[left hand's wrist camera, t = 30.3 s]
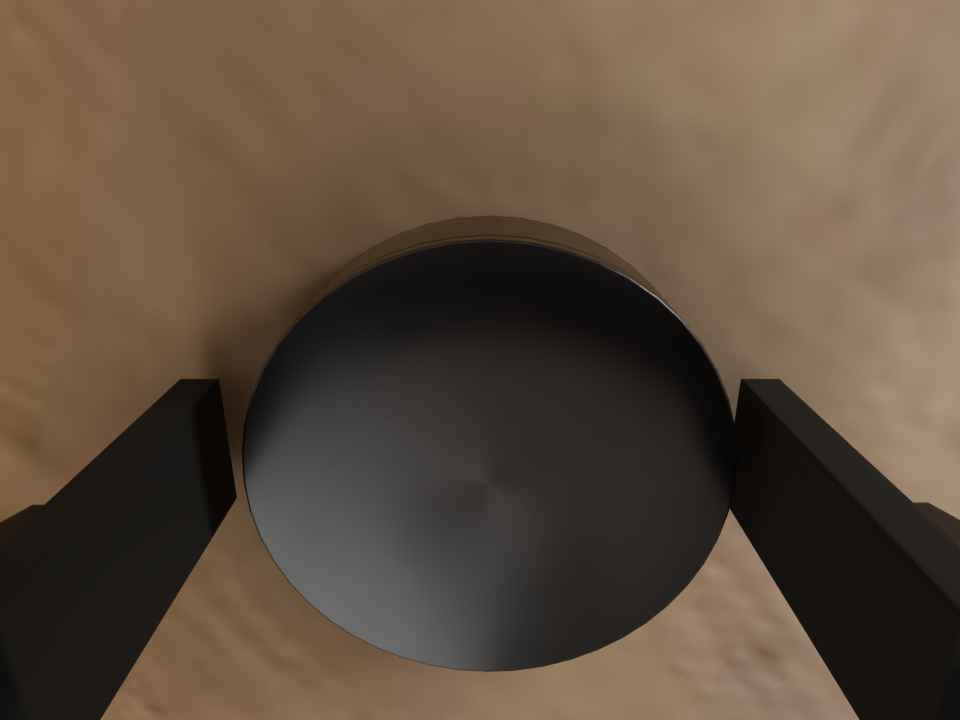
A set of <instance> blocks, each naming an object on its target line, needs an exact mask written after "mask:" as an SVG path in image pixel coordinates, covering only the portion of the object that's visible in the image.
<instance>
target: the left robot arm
mask: <svg viewBox="0 0 960 720" xmlns="http://www.w3.org/2000/svg"><path fill="white" fill-rule="evenodd" d="M734 425H735V431H736V446H737V465H736V477H735V487H734V491H733V495H732V499H731V504H730V510H731V511H732V513H733V514H734V516H735V518H736V519H737V521H738V523H739V524H740V526H741V527H742V529H743V531H744V532H745V534H746V536H747V537H748V539H749V541H750V542H751V544H752V545H753V547H754V549H755V550H756V552H757V554H758V555H759V557H760V558H761V560H762V562H763V563H764V565H765V567H766V568H767V570H768V571H769V573H770V575H771V576H772V578H773V580H774V581H775V583H776V584H777V586H778V588H779V589H780V591H781V593H782V594H783V596H784V597H785V599H786V601H787V602H788V604H789V606H790V607H791V609H792V610H793V612H794V614H795V615H796V617H797V619H798V620H799V622H800V623H801V625H802V627H803V628H804V630H805V632H806V633H807V635H808V636H809V638H810V640H811V641H812V643H813V645H814V646H815V648H816V649H817V651H818V653H819V654H820V656H821V658H822V659H823V661H824V662H825V664H826V666H827V667H828V669H829V671H830V672H831V674H832V675H833V677H834V679H835V680H836V682H837V684H838V685H839V687H840V688H841V690H842V692H843V693H844V695H845V697H846V698H847V700H848V701H849V703H850V705H851V706H852V708H853V710H854V711H855V713H856V715H857V716H858V718H859V719H860V720H960V520H959V519H957V518H955V517H953V516H952V515H950V514H948V513H946V512H944V511H942V510H941V509H939V508H937V507H935V506H933V505H931V504H930V503H913V502H912V501H911V500H910V499H909V498H907V497H906V496H905V495H904V494H903V493H902V492H901V491H900V490H899V489H898V488H897V487H896V486H894V485H893V484H892V483H891V482H890V481H889V480H888V479H887V478H886V477H885V476H884V475H883V474H881V473H880V472H879V471H878V470H877V469H876V468H875V467H874V466H873V465H872V464H871V463H870V462H869V461H867V460H866V459H865V458H864V457H863V456H862V455H861V454H860V453H859V452H858V451H857V450H856V449H854V448H853V447H852V446H851V445H850V444H849V443H848V442H847V441H846V440H845V439H844V438H843V437H841V436H840V435H839V434H838V433H837V432H836V431H835V430H834V429H833V428H832V427H831V426H830V425H829V424H827V423H826V422H825V421H824V420H823V419H822V418H821V417H820V416H819V415H818V414H817V413H816V412H814V411H813V410H812V409H811V408H810V407H809V406H808V405H807V404H806V403H805V402H804V401H803V400H801V399H800V398H799V397H798V396H797V395H796V394H795V393H794V392H793V391H792V390H791V389H790V388H788V387H787V386H786V385H785V384H784V383H783V382H782V381H781V380H780V379H741V383H740V390H739V396H738V403H737V410H736V416H735V423H734ZM236 498H237V496H236V489H235V483H234V476H233V470H232V463H231V456H230V450H229V443H228V436H227V430H226V423H225V417H224V410H223V403H222V397H221V390H220V383H219V379H180V380H179V381H178V382H177V383H176V384H175V385H174V386H173V387H171V388H170V389H169V390H168V391H167V392H166V393H165V394H164V395H163V396H162V397H161V398H160V399H158V400H157V401H156V402H155V403H154V404H153V405H152V406H151V407H150V408H149V409H148V410H147V411H146V412H144V413H143V414H142V415H141V416H140V417H139V418H138V419H137V420H136V421H135V422H134V423H133V424H131V425H130V426H129V427H128V428H127V429H126V430H125V431H124V432H123V433H122V434H121V435H120V436H118V437H117V438H116V439H115V440H114V441H113V442H112V443H111V444H110V445H109V446H108V447H107V448H105V449H104V450H103V451H102V452H101V453H100V454H99V455H98V456H97V457H96V458H95V459H94V460H93V461H91V462H90V463H89V464H88V465H87V466H86V467H85V468H84V469H83V470H82V471H81V472H80V473H78V474H77V475H76V476H75V477H74V478H73V479H72V480H71V481H70V482H69V483H68V484H67V485H65V486H64V487H63V488H62V489H61V490H60V491H59V492H58V493H57V494H56V495H55V496H54V497H52V498H51V499H50V500H49V501H48V502H47V503H46V504H45V505H32V506H30V507H28V508H26V509H24V510H22V511H21V512H19V513H17V514H15V515H13V516H11V517H10V518H8V519H6V520H4V521H2V522H1V523H0V720H100V719H101V718H102V716H103V714H104V713H105V711H106V710H107V708H108V706H109V705H110V703H111V701H112V700H113V698H114V697H115V695H116V693H117V692H118V690H119V688H120V687H121V685H122V684H123V682H124V680H125V679H126V677H127V675H128V674H129V672H130V671H131V669H132V667H133V666H134V664H135V662H136V661H137V659H138V658H139V656H140V654H141V653H142V651H143V649H144V648H145V646H146V645H147V643H148V641H149V640H150V638H151V636H152V635H153V633H154V631H155V630H156V628H157V627H158V625H159V623H160V622H161V620H162V618H163V617H164V615H165V614H166V612H167V610H168V609H169V607H170V605H171V604H172V602H173V601H174V599H175V597H176V596H177V594H178V592H179V591H180V589H181V588H182V586H183V584H184V583H185V581H186V579H187V578H188V576H189V575H190V573H191V571H192V570H193V568H194V566H195V565H196V563H197V562H198V560H199V558H200V557H201V555H202V553H203V552H204V550H205V549H206V547H207V545H208V544H209V542H210V540H211V539H212V537H213V536H214V534H215V532H216V531H217V529H218V527H219V526H220V524H221V523H222V521H223V519H224V518H225V516H226V514H227V513H228V511H229V510H230V508H231V506H232V505H233V503H234V501H235V500H236Z"/></svg>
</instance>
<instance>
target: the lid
mask: <svg viewBox="0 0 960 720" xmlns="http://www.w3.org/2000/svg"><path fill="white" fill-rule="evenodd" d="M242 463H243V477H244V485H245V490H246V494H247V499H248V503H249V508H250V511H251V514H252V517H253V519H254V522H255V525H256V527H257V530H258V533H259V535H260V537H261V539H262V541H263V543H264V545H265V546H266V548H267V550H268V552H269V554H270V556H271V558H272V559H273V561H274V562H275V564H276V565H277V566H278V568H279V569H280V570H281V572H282V573H283V575H284V576H285V577H286V579H287V580H288V581H289V583H290V584H291V585H292V586H293V587H294V588H295V589H296V590H297V591H298V592H299V593H300V594H301V595H302V597H303V598H304V599H305V600H306V601H307V602H308V603H309V604H311V605H312V606H313V607H314V608H315V609H317V610H318V611H319V612H320V613H321V614H323V615H324V616H325V617H326V618H327V619H328V620H330V621H331V622H333V623H334V624H336V625H337V626H339V627H340V628H342V629H344V630H345V631H347V632H348V633H350V634H351V635H353V636H355V637H357V638H359V639H361V640H362V641H364V642H366V643H368V644H370V645H372V646H374V647H376V648H378V649H381V650H384V651H386V652H389V653H392V654H394V655H397V656H399V657H402V658H405V659H409V660H413V661H416V662H420V663H424V664H427V665H431V666H438V667H444V668H450V669H456V670H469V671H486V672H489V671H514V670H522V669H529V668H536V667H543V666H547V665H551V664H555V663H559V662H564V661H568V660H571V659H574V658H577V657H580V656H582V655H585V654H588V653H591V652H594V651H596V650H599V649H601V648H603V647H605V646H607V645H609V644H611V643H613V642H615V641H617V640H619V639H621V638H623V637H625V636H626V635H628V634H630V633H631V632H633V631H634V630H636V629H637V628H639V627H641V626H642V625H644V624H645V623H647V622H648V621H649V620H651V619H652V618H653V617H654V616H656V615H657V614H658V613H659V612H661V611H662V610H663V609H664V608H666V607H667V606H668V605H669V604H670V603H671V602H672V601H673V600H674V599H675V598H676V597H677V596H678V595H679V594H680V593H681V592H682V591H683V590H684V589H685V588H686V587H687V586H688V584H689V583H690V582H691V580H692V579H693V578H694V576H695V575H696V574H697V572H698V571H699V570H700V568H701V567H702V566H703V564H704V563H705V561H706V559H707V558H708V556H709V554H710V552H711V551H712V549H713V547H714V545H715V544H716V542H717V540H718V538H719V535H720V533H721V530H722V528H723V525H724V523H725V520H726V518H727V515H728V512H729V508H730V504H731V499H732V495H733V491H734V487H735V477H736V465H737V446H736V431H735V425H734V420H733V416H732V411H731V407H730V402H729V398H728V396H727V393H726V391H725V388H724V386H723V383H722V381H721V378H720V375H719V373H718V371H717V369H716V367H715V365H714V364H713V362H712V360H711V359H710V357H709V355H708V353H707V352H706V350H705V348H704V346H703V345H702V343H701V342H700V341H699V340H698V338H697V337H696V336H695V335H694V333H693V332H692V331H691V330H690V328H689V327H688V326H687V325H686V323H685V322H684V321H683V320H682V318H681V317H680V316H679V315H678V314H677V313H676V312H675V310H674V309H673V308H672V307H671V306H670V305H669V304H668V303H667V301H666V300H665V299H664V298H663V297H662V296H661V295H660V293H659V292H658V291H657V290H656V289H655V288H654V287H653V285H652V284H651V283H650V282H648V281H647V280H646V279H645V278H644V277H643V276H642V275H641V274H640V273H639V272H638V271H637V270H636V269H635V268H633V267H632V266H631V265H630V264H629V263H627V262H626V261H624V260H623V259H622V258H620V257H619V256H617V255H616V254H614V253H613V252H612V251H610V250H609V249H607V248H606V247H604V246H602V245H600V244H598V243H596V242H594V241H592V240H590V239H588V238H586V237H584V236H582V235H580V234H578V233H575V232H572V231H569V230H566V229H563V228H561V227H558V226H555V225H552V224H548V223H543V222H538V221H533V220H528V219H523V218H514V217H500V216H479V217H463V218H455V219H450V220H445V221H440V222H435V223H430V224H426V225H424V226H421V227H418V228H415V229H412V230H409V231H406V232H403V233H400V234H398V235H396V236H394V237H392V238H390V239H388V240H386V241H384V242H382V243H380V244H378V245H376V246H374V247H372V248H371V249H369V250H368V251H367V252H365V253H364V254H362V255H361V256H359V257H358V258H356V259H355V260H353V261H352V262H350V263H349V264H348V265H347V266H346V267H345V268H344V269H343V270H341V271H340V272H339V273H338V274H337V275H336V276H335V277H334V278H333V279H332V280H331V281H329V282H328V283H327V285H326V286H325V287H324V288H323V289H322V290H321V292H320V293H319V294H318V295H317V296H316V297H315V299H314V300H313V301H312V302H311V303H310V304H309V306H308V307H307V308H306V309H305V310H304V311H303V313H302V314H301V315H300V316H299V317H298V318H297V320H296V321H295V322H294V323H293V325H292V326H291V327H290V328H289V329H288V331H287V332H286V333H285V334H284V336H283V337H282V338H281V339H280V340H279V342H278V343H277V345H276V347H275V348H274V350H273V352H272V353H271V355H270V357H269V358H268V360H267V362H266V363H265V365H264V367H263V368H262V371H261V373H260V376H259V378H258V381H257V383H256V385H255V388H254V390H253V393H252V395H251V399H250V403H249V407H248V411H247V415H246V419H245V424H244V433H243V446H242Z"/></svg>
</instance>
